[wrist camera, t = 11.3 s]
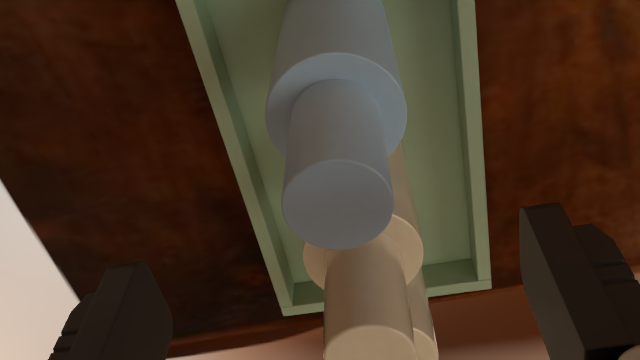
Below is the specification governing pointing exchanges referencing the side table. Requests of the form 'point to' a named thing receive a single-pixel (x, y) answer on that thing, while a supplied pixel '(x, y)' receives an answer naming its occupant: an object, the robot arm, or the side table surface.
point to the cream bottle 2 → (422, 319)
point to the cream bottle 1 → (372, 282)
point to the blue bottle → (336, 120)
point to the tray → (418, 139)
